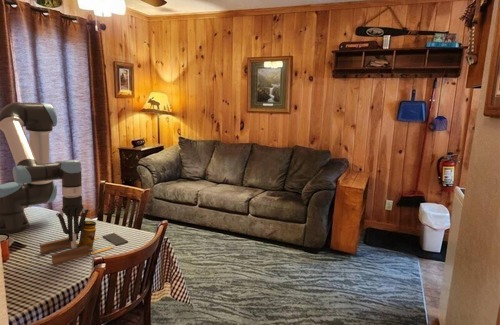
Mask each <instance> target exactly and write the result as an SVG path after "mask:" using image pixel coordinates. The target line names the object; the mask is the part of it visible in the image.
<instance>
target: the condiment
mask: <svg viewBox="0 0 500 325" xmlns="http://www.w3.org/2000/svg"><path fill="white" fill-rule="evenodd" d="M96 225H97V223H96V221H94V220H85V223H84V227H83V231H80V233H79V239H78V240H79V241H78V242H79V244H77V243H76V245H77V248H78V247H81V246H85V245H87V246H89V251H96V248H94V242H95V240H94V237H96V236H95V235H96V230H97V229H96Z"/></svg>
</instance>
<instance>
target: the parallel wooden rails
mask: <svg viewBox="0 0 500 325" xmlns="http://www.w3.org/2000/svg"><path fill="white" fill-rule="evenodd" d="M66 248H71V249H68V250H64V249H66ZM39 249H40V252H39V253H40V254H41V255H45V254H49V253H53V252H56V251H59V250H64V251H61V252H57V253H53V254H51V265H53V266H57V265H61V264H63V263H67V262H71V261H73V260H77V259H81V258H84V257H87V256H90V250H89V246H87V245H85V246H81V247H78V248H74V249H73V248H72V247H71V242H70V241H69V238H68V237H63V238H60V239H56V240H52V241H47V242H43V243H40V244H39Z"/></svg>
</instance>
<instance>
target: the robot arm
mask: <svg viewBox="0 0 500 325" xmlns="http://www.w3.org/2000/svg"><path fill="white" fill-rule="evenodd" d="M57 116H58V115H57V113H56V110H55V108H54V106H53V105H52V104H50V103H44V102H20V101H19V102H18V101H17V102H16V101H14V102H11V103H9V104H7V105H5V106H4V107H3V108H1V110H0V130H1V131H2V132H3V134H4V136H5V139H6V142H7V144H8V147H9V149H10V153H11V154H12V158H13V160H14V163H15V165H16V166H13V168H12V177H13V181H11V182H6V183H1V184H0V234H1V235H2V234H4V235H5V234H13V233H17V232H21V231H24V230H26V229H28V228H29V227H30V222H29V221H30V220H29V219H28V217H27V215H26V214H25V208H26V207H31V206H37V205H38V206H39V205H44V204H48V203H52V202H54V201H55V200H56V198H57V195H58V186H57V183H56V181H55V180H61V193H62V208H61V211H59V212H57V213H55V215H56V217H57V218H58V220H59V223H60V225H61V230H62V231H63V232H62V233H63V234H65V235H68V238H69V241H70V242H71V247H70V248H71V249H74V248H77V245H76V244H77V243H76V242H77V241H78V240H80V237H79V235H80V233H81V231H83V227H84V223H85V221H86V218H87V214H88V213H89V208H86V207H84V205H83V195H82V194H83V185H82V184H83V181H82V180H83V179H82V176H83V175H82V170H83V168H82V162H81V160H79V159H65V160H62V161H61V160H58V161H55V162H51V163H50V133H51V132H53V127H56V126H57V124H58V117H57ZM24 127H25V129H24ZM25 131H27V132H28V134H29V139H28V136H27V134H26V132H25ZM64 215H65V216H66V218H67V224H66V221H65V218H64Z"/></svg>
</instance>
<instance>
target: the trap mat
mask: <svg viewBox="0 0 500 325" xmlns="http://www.w3.org/2000/svg"><path fill="white" fill-rule="evenodd" d="M102 238H103V239H105V240H106V241H108V242H110V243H111V244H113V245H114V246H121V245H124V244H127V243H129V241H128V240H127V239H125V238H124V237H122V236H120V235H119V234H117V233H115V232H113V233H109V234H105V235H102Z"/></svg>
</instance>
